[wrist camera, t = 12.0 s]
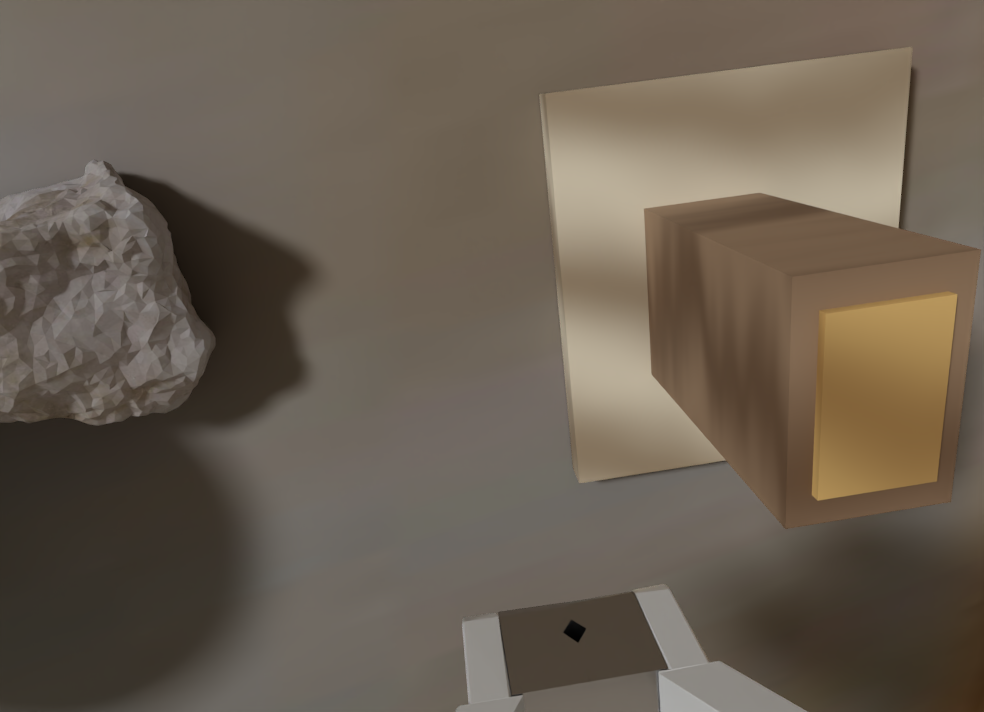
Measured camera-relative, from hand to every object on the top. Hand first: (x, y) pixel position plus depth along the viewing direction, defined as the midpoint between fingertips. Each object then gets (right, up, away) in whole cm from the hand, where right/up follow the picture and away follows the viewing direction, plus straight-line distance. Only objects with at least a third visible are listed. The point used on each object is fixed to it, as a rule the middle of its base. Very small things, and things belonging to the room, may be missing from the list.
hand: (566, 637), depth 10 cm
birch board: (+7, +7, +16) cm, 19 cm away
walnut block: (+6, +7, +15) cm, 17 cm away
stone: (-15, +7, +14) cm, 22 cm away
